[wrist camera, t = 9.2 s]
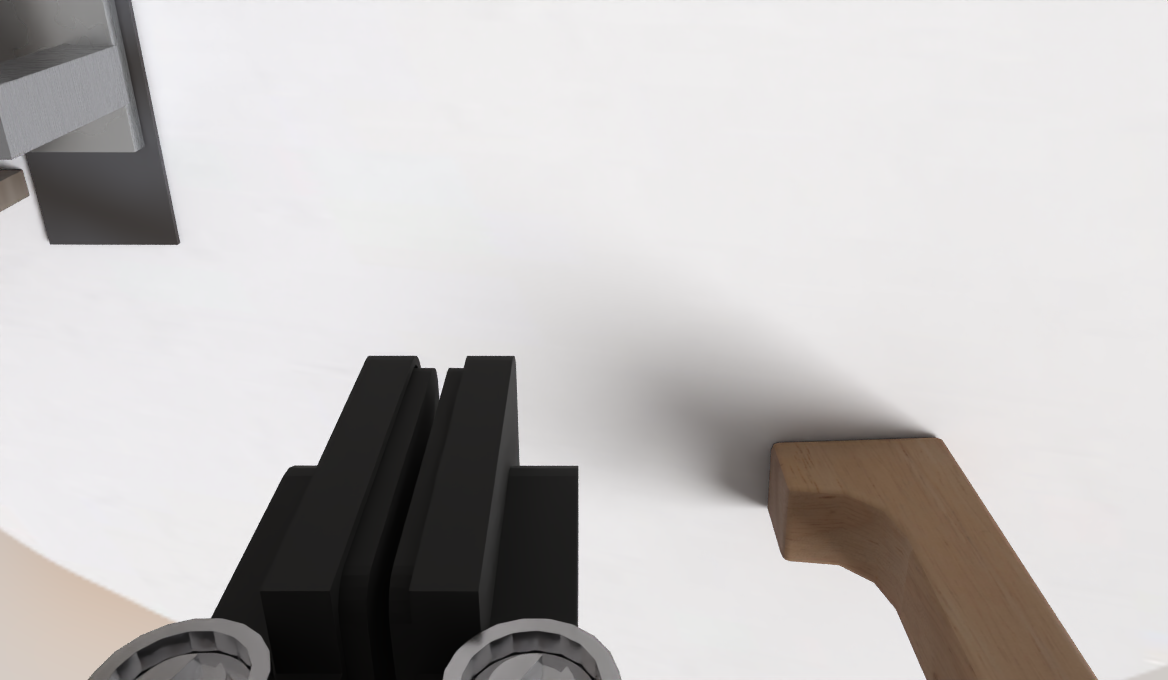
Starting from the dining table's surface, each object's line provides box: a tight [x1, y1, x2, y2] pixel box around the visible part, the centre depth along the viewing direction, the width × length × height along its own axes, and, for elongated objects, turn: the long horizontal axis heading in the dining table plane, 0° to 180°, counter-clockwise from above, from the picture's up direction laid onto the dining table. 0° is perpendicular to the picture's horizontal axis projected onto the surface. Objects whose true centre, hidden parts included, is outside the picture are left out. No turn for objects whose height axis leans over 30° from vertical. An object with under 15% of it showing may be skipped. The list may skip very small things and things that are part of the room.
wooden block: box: [768, 438, 1098, 680], centre depth 41 cm, size 9×4×18 cm, turn 92°
